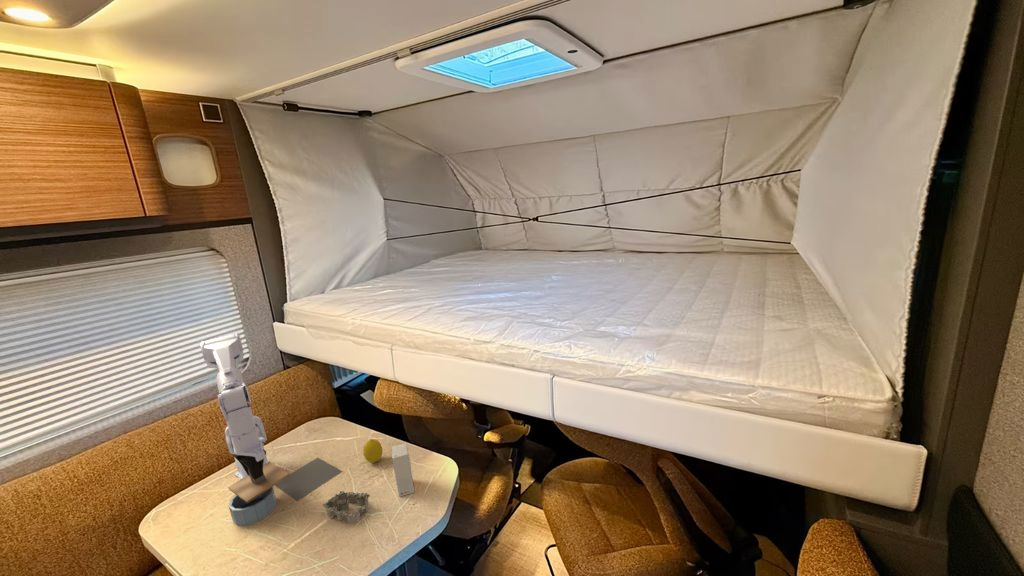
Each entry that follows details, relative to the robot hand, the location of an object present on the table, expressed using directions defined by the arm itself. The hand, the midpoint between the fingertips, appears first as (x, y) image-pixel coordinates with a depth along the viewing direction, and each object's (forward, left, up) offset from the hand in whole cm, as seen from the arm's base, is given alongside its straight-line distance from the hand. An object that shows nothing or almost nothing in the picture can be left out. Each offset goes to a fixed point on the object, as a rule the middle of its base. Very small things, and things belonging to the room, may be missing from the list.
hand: (255, 475), depth 113 cm
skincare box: (+30, +25, -10) cm, 40 cm away
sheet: (0, +1, -2) cm, 2 cm away
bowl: (0, -2, -10) cm, 10 cm away
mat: (0, +13, -10) cm, 16 cm away
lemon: (+12, +28, -10) cm, 32 cm away
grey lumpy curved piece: (+23, +11, -10) cm, 28 cm away
